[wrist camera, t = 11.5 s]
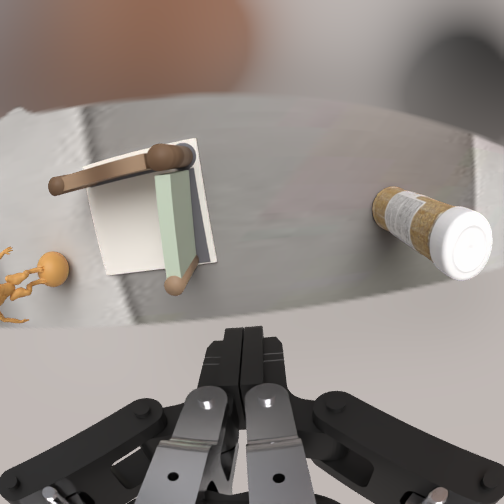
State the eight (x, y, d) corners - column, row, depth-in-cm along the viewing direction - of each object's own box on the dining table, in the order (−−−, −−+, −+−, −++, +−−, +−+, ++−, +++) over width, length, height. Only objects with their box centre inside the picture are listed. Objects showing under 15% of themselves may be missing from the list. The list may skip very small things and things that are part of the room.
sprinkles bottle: (417, 203, 27) (504, 239, 15) (393, 239, 29) (468, 295, 16) (386, 176, 27) (470, 196, 14) (361, 213, 28) (430, 259, 15)
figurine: (80, 296, 32) (22, 351, 20) (44, 291, 32) (-13, 338, 20) (70, 229, 29) (-2, 266, 18) (34, 228, 29) (-36, 261, 18)
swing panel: (174, 171, 27) (150, 176, 21) (191, 169, 27) (171, 174, 21) (184, 267, 29) (165, 295, 23) (199, 267, 29) (185, 295, 23)
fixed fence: (88, 189, 28) (50, 200, 21) (85, 170, 27) (46, 177, 21) (194, 165, 27) (174, 168, 20) (191, 144, 26) (170, 140, 20)
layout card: (108, 274, 31) (106, 275, 30) (83, 166, 27) (82, 166, 27) (217, 260, 30) (216, 262, 29) (196, 138, 26) (195, 137, 26)
